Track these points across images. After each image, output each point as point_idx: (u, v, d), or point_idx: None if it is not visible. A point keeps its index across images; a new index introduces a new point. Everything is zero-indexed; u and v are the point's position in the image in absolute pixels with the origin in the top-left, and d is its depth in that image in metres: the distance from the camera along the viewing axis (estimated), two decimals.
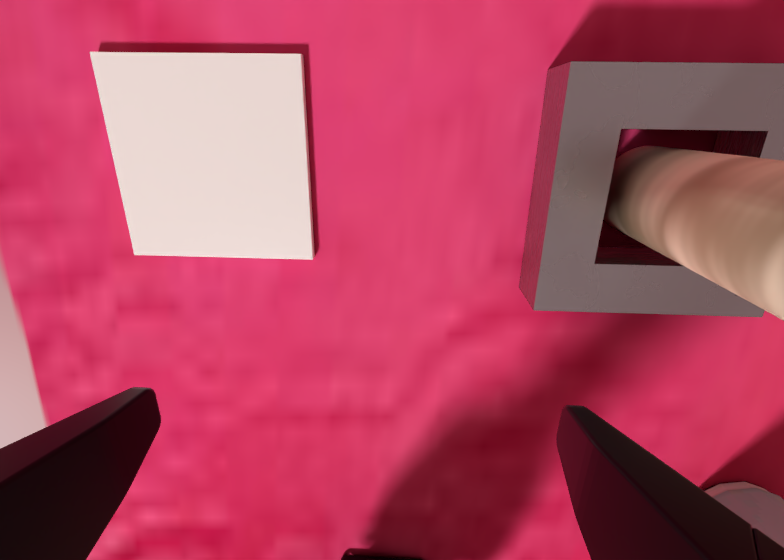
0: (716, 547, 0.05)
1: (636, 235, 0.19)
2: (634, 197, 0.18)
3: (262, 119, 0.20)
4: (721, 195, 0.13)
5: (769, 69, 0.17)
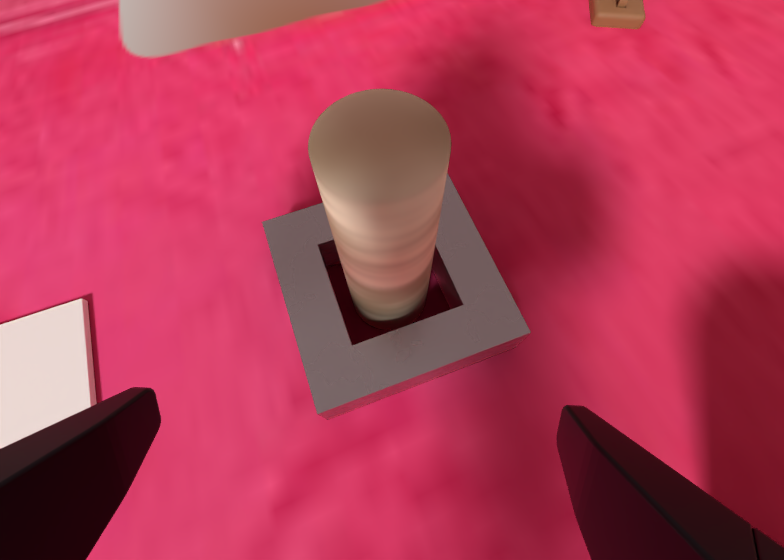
0: (716, 547, 0.05)
1: (366, 304, 0.21)
2: None
3: (47, 355, 0.23)
4: None
5: None
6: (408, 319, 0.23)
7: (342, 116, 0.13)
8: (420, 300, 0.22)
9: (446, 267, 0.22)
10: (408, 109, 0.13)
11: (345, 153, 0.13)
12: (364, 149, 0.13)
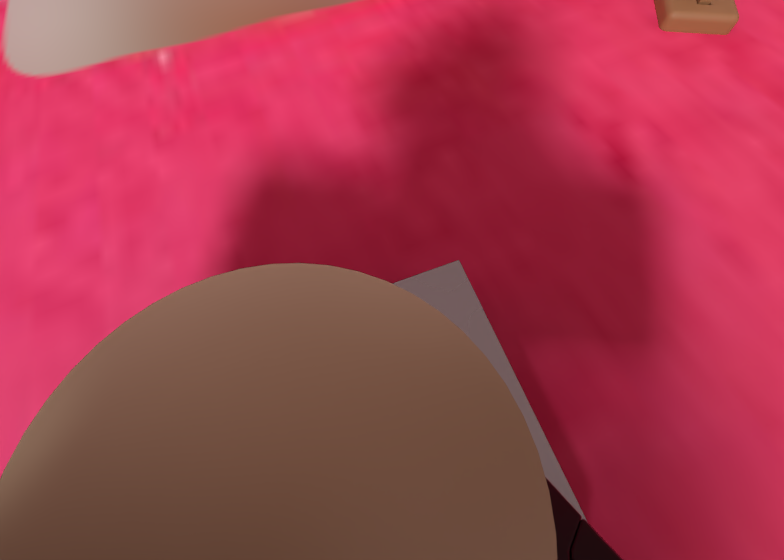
0: None
1: None
2: None
3: None
4: None
5: None
6: None
7: (141, 384, 0.04)
8: None
9: None
10: (385, 354, 0.04)
11: None
12: None
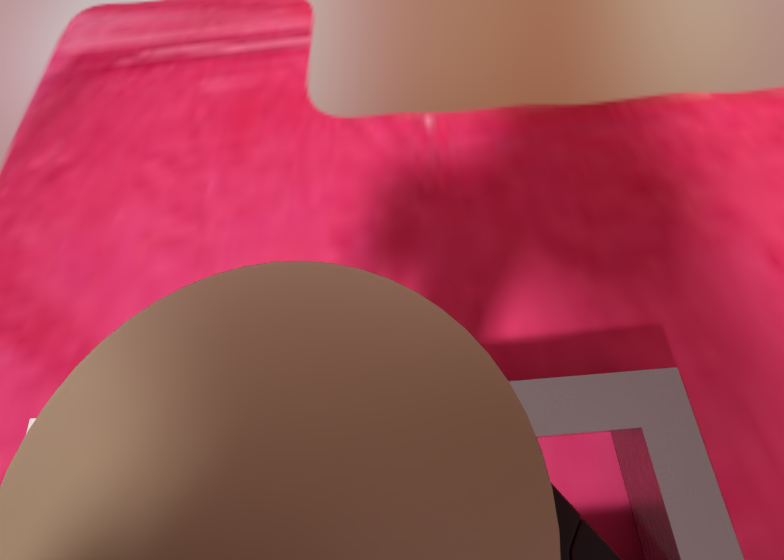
0: None
1: None
2: None
3: None
4: None
5: (611, 377, 0.20)
6: None
7: (145, 382, 0.04)
8: None
9: (670, 523, 0.17)
10: (388, 352, 0.04)
11: None
12: None
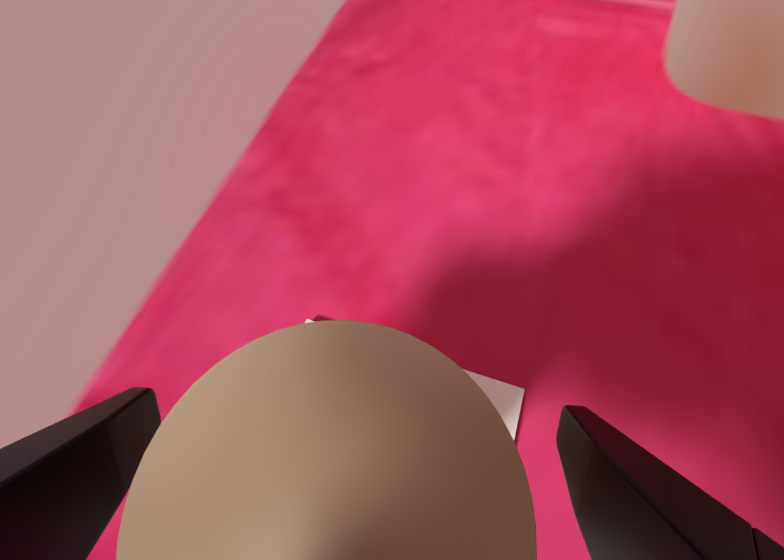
0: (716, 547, 0.05)
1: None
2: None
3: None
4: None
5: None
6: None
7: (229, 416, 0.05)
8: None
9: None
10: (411, 393, 0.05)
11: None
12: (282, 550, 0.04)
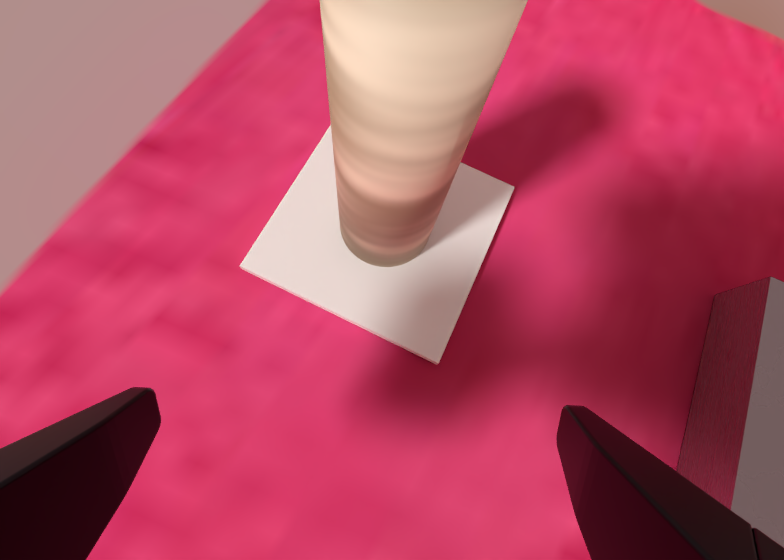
0: (716, 547, 0.05)
1: (358, 225, 0.16)
2: None
3: (457, 214, 0.21)
4: None
5: None
6: (406, 255, 0.19)
7: None
8: (426, 232, 0.17)
9: None
10: None
11: None
12: None
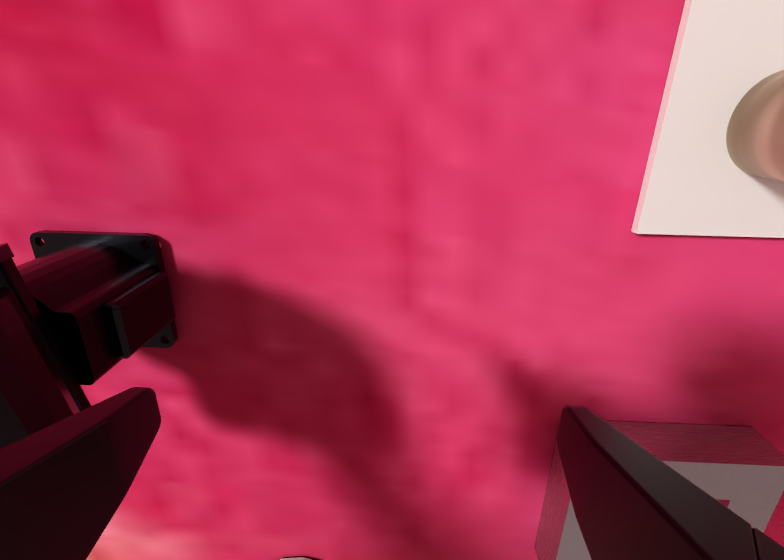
0: (716, 547, 0.05)
1: None
2: None
3: None
4: None
5: None
6: (752, 166, 0.18)
7: None
8: None
9: None
10: None
11: None
12: None
